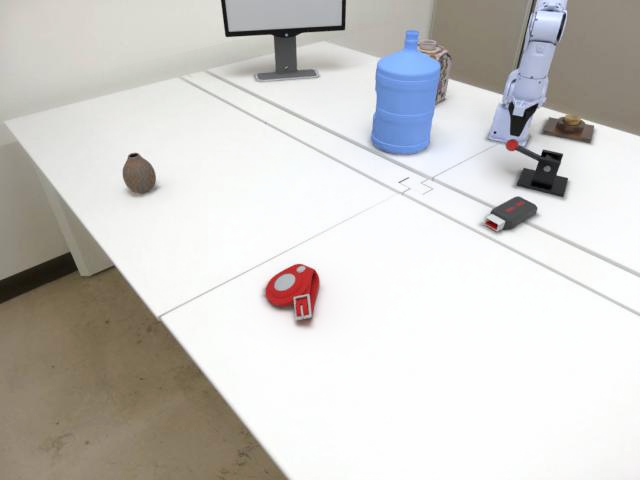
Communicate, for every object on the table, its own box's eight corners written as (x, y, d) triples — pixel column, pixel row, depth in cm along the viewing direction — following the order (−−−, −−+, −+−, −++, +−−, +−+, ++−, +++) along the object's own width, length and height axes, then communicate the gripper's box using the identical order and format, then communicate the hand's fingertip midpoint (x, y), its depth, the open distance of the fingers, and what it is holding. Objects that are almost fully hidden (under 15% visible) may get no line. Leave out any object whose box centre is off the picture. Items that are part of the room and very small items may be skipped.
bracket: (516, 186, 106) (525, 158, 101) (522, 171, 111) (531, 143, 107) (562, 197, 102) (573, 169, 97) (566, 181, 107) (577, 153, 103)
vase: (164, 184, 107) (156, 150, 101) (146, 199, 102) (136, 164, 96) (139, 179, 109) (130, 145, 103) (121, 194, 104) (109, 159, 98)
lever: (502, 149, 105) (508, 139, 103) (504, 144, 107) (510, 135, 105) (550, 173, 103) (557, 163, 101) (552, 168, 105) (559, 158, 103)
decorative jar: (395, 100, 146) (401, 41, 135) (414, 90, 153) (421, 33, 142) (427, 110, 140) (437, 49, 129) (446, 99, 147) (456, 40, 136)
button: (562, 124, 126) (564, 118, 125) (564, 118, 129) (566, 113, 128) (578, 127, 124) (580, 121, 123) (579, 121, 127) (581, 115, 126)
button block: (542, 134, 127) (545, 123, 125) (547, 120, 134) (551, 111, 132) (589, 143, 123) (593, 133, 121) (592, 129, 129) (596, 119, 127)
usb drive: (535, 214, 97) (539, 203, 95) (500, 235, 91) (504, 224, 90) (514, 203, 100) (518, 192, 99) (479, 222, 95) (482, 211, 93)
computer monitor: (231, 83, 159) (214, -52, 134) (230, 75, 165) (213, -56, 140) (345, 75, 165) (349, -56, 140) (339, 67, 171) (343, -59, 146)
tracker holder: (251, 291, 78) (289, 252, 82) (262, 307, 80) (298, 269, 85) (300, 316, 70) (339, 271, 74) (310, 333, 72) (347, 289, 77)
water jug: (441, 146, 121) (461, 34, 104) (395, 161, 115) (408, 45, 98) (403, 125, 132) (415, 20, 114) (359, 138, 125) (365, 29, 108)
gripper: (547, 88, 88) (527, 152, 97) (557, 67, 98) (538, 126, 107) (510, 82, 91) (494, 144, 100) (523, 62, 101) (507, 120, 109)
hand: (515, 134), depth 103 cm, fingers closed
